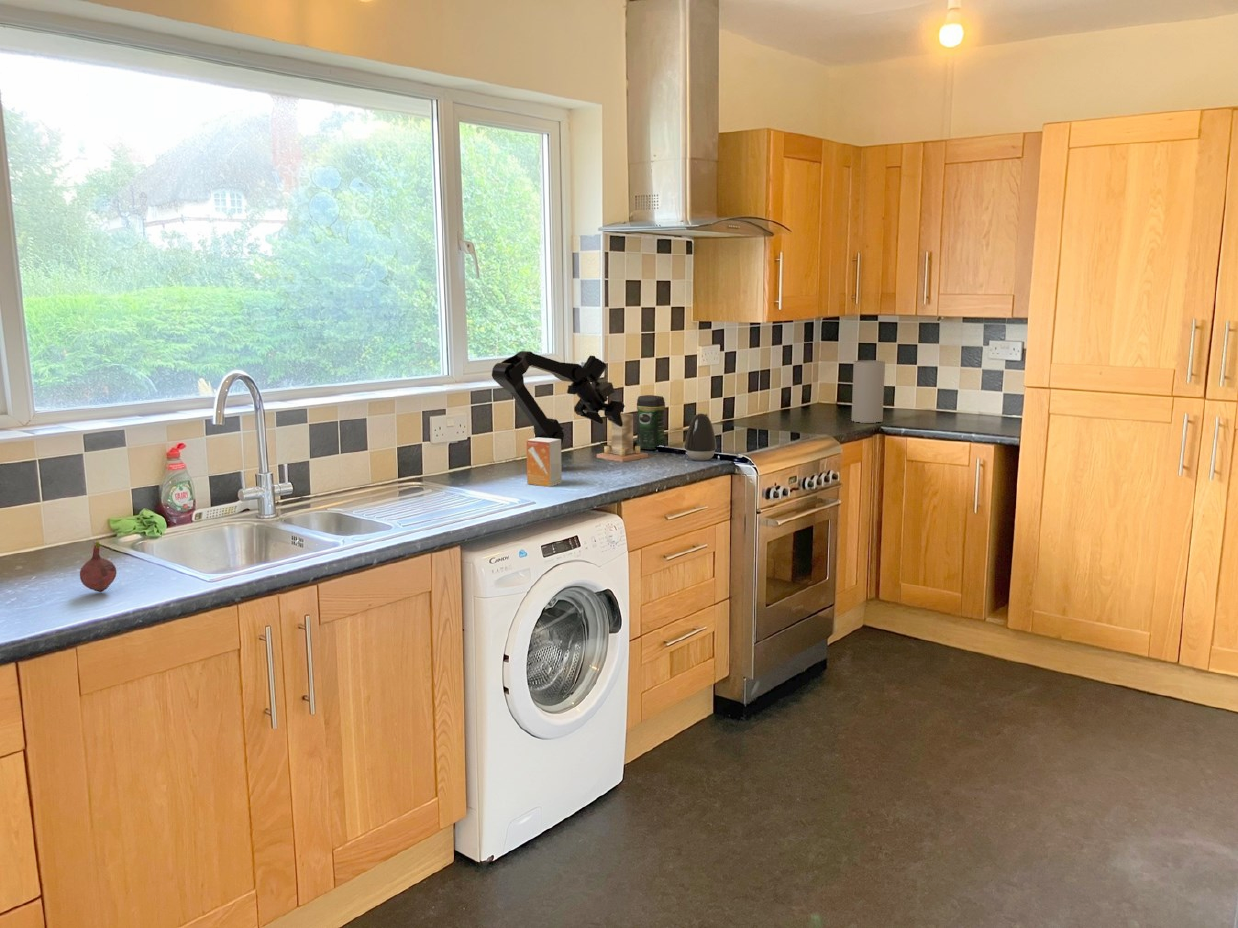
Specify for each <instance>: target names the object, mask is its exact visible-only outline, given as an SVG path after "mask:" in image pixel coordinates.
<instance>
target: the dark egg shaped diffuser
mask: <svg viewBox="0 0 1238 928" xmlns="http://www.w3.org/2000/svg"><path fill="white" fill-rule="evenodd" d="M684 449H685V452H686V455H687V457H688V458H690V459H691V460H693V461H696V462H697V461H698V462H699V461H700V462H705V461H709V460H711V459H712V458H713V457H714V455H715V452H716V450H717V439H716V434H715V431H714V426H713V424H712V421H711V419H710V417H709V415H708V413H702V412H700V413H697V414H696V415H694V417H692V418H691V421H690V423H689V426H688V430H687V433H686V436H685V443H684Z"/></svg>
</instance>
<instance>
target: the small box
mask: <svg viewBox="0 0 1238 928" xmlns="http://www.w3.org/2000/svg"><path fill="white" fill-rule="evenodd" d="M562 471H563V470H562V446H561V439H553V438H540V437H537V438H534V437H533V438H529V439H526V483H527V485H534V486H540V487H541V486H542V487H547V488H552V487H554V485H555V486H558V485H560V484H562V483H563V482H562V480H563V479H562V475H563V473H562ZM557 484H558V485H557ZM551 486H552V487H551Z"/></svg>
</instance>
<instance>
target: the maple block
mask: <svg viewBox="0 0 1238 928" xmlns="http://www.w3.org/2000/svg"><path fill="white" fill-rule="evenodd" d="M620 414H621V419H622V422H623V426H622V427H620V426H618V425H616V424H614V423H613V422H611V451H612V453H613V454H619V449H622V448H623V449H625V455H626V454H632V453H633V451H634V414H633V413H626V412H625V413H624V412H621V413H620ZM619 455H620V454H619Z"/></svg>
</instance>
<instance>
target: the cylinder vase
mask: <svg viewBox="0 0 1238 928" xmlns="http://www.w3.org/2000/svg"><path fill="white" fill-rule="evenodd" d="M885 370H886V361H884V360H873V359H870V360H869V359H868V360H866V359H865V360H862V359H860V360H853V369H852V371H853V372H852V395H851V397H852V398H851V399H852V400H851V402H852V403H851V422H853V421H854V422H853V423H856V422H860V423H859V424H865V423H874V424H877V423H876V422H881V423H883V419H884V418H883V416H884V399H885V398H884V397H885V395H884V394H885V376H886V375H885V373H886V372H885Z"/></svg>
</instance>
